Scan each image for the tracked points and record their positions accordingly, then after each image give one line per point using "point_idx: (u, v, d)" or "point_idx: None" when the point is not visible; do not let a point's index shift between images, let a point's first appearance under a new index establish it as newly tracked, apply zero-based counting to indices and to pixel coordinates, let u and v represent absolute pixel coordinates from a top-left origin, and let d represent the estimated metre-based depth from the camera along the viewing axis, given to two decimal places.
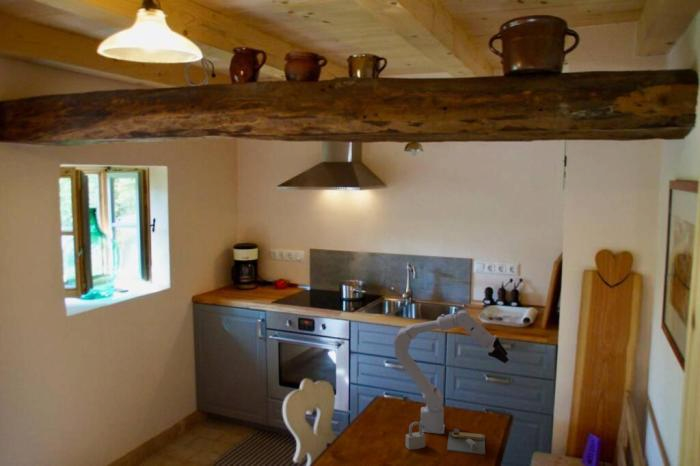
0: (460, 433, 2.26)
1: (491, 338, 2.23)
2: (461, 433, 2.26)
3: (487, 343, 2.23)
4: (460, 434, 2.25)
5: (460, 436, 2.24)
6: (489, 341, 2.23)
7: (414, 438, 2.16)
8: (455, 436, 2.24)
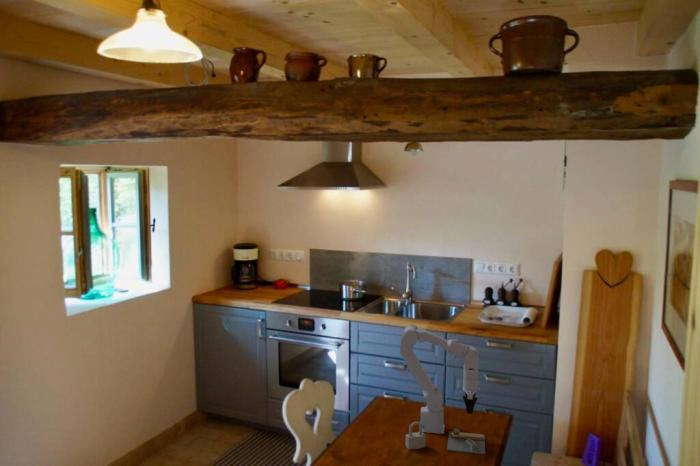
0: (460, 433, 2.26)
1: (475, 388, 2.27)
2: (461, 433, 2.26)
3: (469, 388, 2.26)
4: (460, 434, 2.25)
5: (460, 436, 2.24)
6: (472, 388, 2.26)
7: (414, 438, 2.16)
8: (455, 436, 2.24)
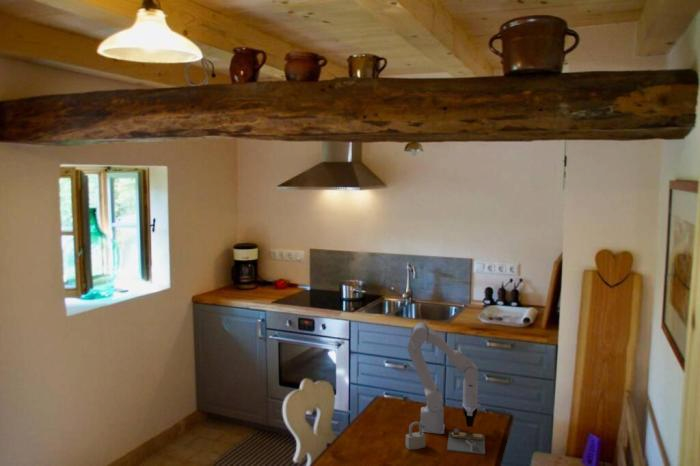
0: (460, 433, 2.26)
1: (475, 404, 2.28)
2: (461, 433, 2.26)
3: (469, 405, 2.27)
4: (460, 434, 2.25)
5: (460, 436, 2.24)
6: (472, 405, 2.27)
7: (414, 438, 2.16)
8: (455, 436, 2.24)
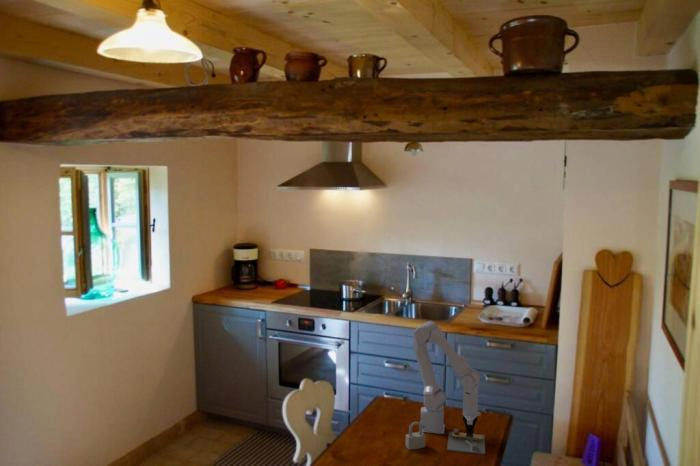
0: (460, 433, 2.26)
1: (475, 412, 2.22)
2: (461, 433, 2.25)
3: (469, 413, 2.22)
4: (460, 434, 2.25)
5: (460, 436, 2.24)
6: (472, 413, 2.22)
7: (414, 438, 2.16)
8: (455, 436, 2.24)
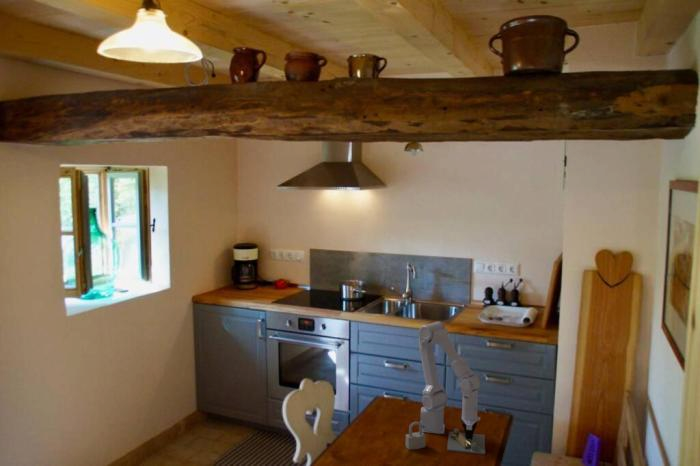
0: (459, 435, 2.24)
1: (475, 417, 2.18)
2: (459, 435, 2.24)
3: (469, 418, 2.17)
4: (456, 435, 2.24)
5: (454, 436, 2.24)
6: (471, 418, 2.17)
7: (414, 438, 2.16)
8: None
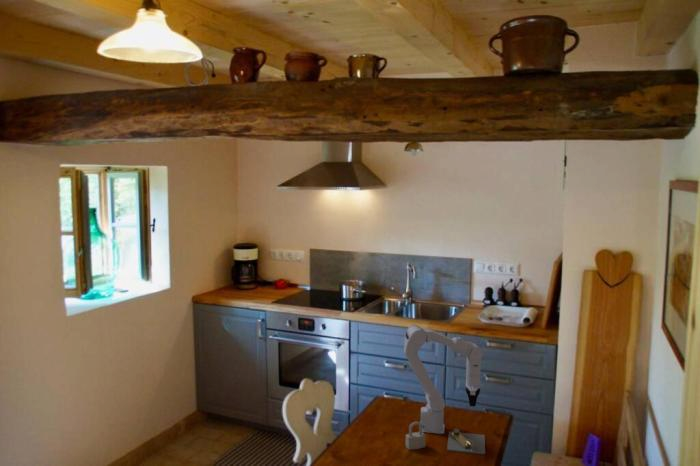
0: (459, 435, 2.24)
1: (478, 384, 2.31)
2: (459, 435, 2.24)
3: (472, 385, 2.31)
4: (456, 435, 2.24)
5: (454, 436, 2.24)
6: (475, 385, 2.30)
7: (414, 438, 2.16)
8: None
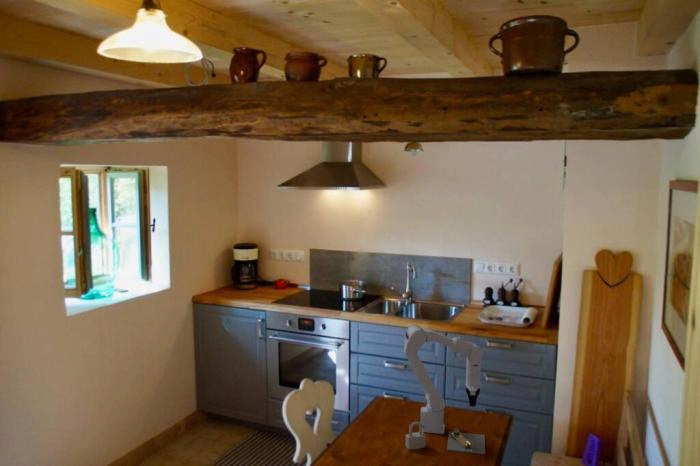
0: (459, 435, 2.24)
1: (478, 384, 2.31)
2: (459, 435, 2.24)
3: (472, 385, 2.31)
4: (456, 435, 2.24)
5: (454, 436, 2.24)
6: (475, 385, 2.30)
7: (414, 438, 2.16)
8: None
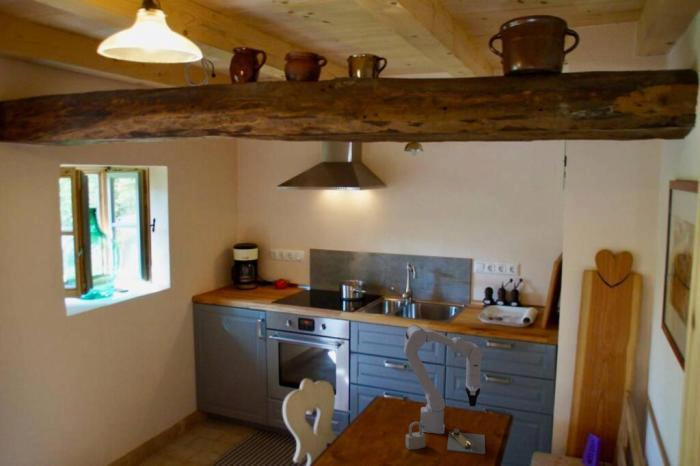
0: (459, 435, 2.24)
1: (478, 384, 2.31)
2: (459, 435, 2.24)
3: (472, 385, 2.31)
4: (456, 435, 2.24)
5: (454, 436, 2.24)
6: (475, 385, 2.30)
7: (414, 438, 2.16)
8: None
